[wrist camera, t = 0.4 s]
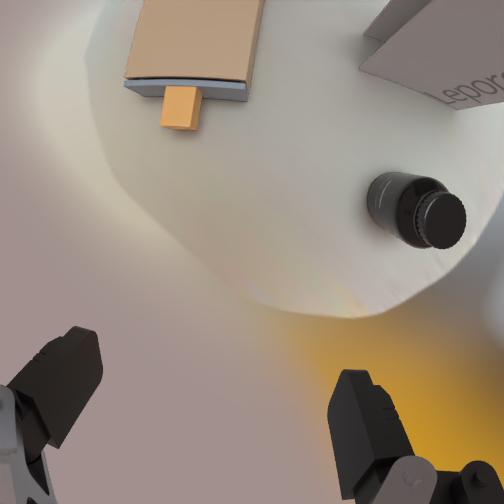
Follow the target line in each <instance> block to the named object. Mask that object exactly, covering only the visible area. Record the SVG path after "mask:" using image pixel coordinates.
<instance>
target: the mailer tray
mask: <svg viewBox="0 0 504 504" xmlns="http://www.w3.org/2000/svg"><path fill="white" fill-rule="evenodd" d="M124 87H126V88H128V89H130V90H132V91H134V92H136V93H138V94H140V95H142V96H164V101H163V108H162V114H161V121H160V126H163V127H166V128H169V129H184V130H197V127H198V120H199V114H200V107H201V101H202V98H216V99H228V100H238V101H247V102H248V93H247V88H246V84H244V83H240V81H232V80H220V79H203V78H140V80H127V81H124Z"/></svg>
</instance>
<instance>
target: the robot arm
mask: <svg viewBox="0 0 504 504" xmlns="http://www.w3.org/2000/svg"><path fill="white" fill-rule="evenodd" d="M102 375H103V365H102V360H101V354H100V349H99V343H98V337H97V334H96V332H95V331H92V330H88V329H85V328H81V327H78V326H74V327H72V328H71V329H70V330H69V331H68V332H67V333H66V334H65V335H64V336H63V337H61V336H60V337H58V338H56V339H54V340H52V341H50V342H48V343H47V344H46V345H45V346H44V347H43V348H42V349H41V350H40V352H39V353H37V354H36V355H35V356H34V357H33V360H30V361H29V363H27V365H26V366H25V367H24V368H23V369H22V370H21V371H20V372H19V373H18V374H17V375H16V376H15V377H14V379H12V381H11V382H10V383H9V384H8V385H7V386H4V385H0V504H58V503H57V501H56V499H55V495H54V491H53V488H52V484H51V479H50V475H49V471H48V466H47V462H46V457H45V452H44V450H43V448H44V447H45V445H46V444H49V445H51V446H53V447H55V448H57V449H59V448H60V446H61V444H62V443H63V441H64V439H65V438H66V436H67V435H68V433H69V431H70V430H71V428H72V426H73V425H74V423H75V421H76V420H77V418H78V417H79V415H80V413H81V412H82V410H83V409H84V407H85V406H86V404H87V402H88V401H89V399H90V398H91V396H92V395H93V393H94V391H95V390H96V388H97V387H98V385H99V384H100V382H101V379H102ZM327 417H328V424H329V429H330V434H331V440H332V445H333V450H334V456H335V461H336V467H337V472H338V478H339V484H340V490H341V496H342V500H348V499H355V503H356V504H504V489H503V487H502V485H501V482H500V480H499V478H498V475H497V473H496V471H495V470H494V468H493V467H492V466H491V465H489V464H488V463H486V462H484V461H472V462H470V463H468V464H467V465H466V466H465V467H464V468H463V469H462V470H461V471H460V472H452V471H437V470H435V468H434V466H433V465H432V464H431V463H430V462H429V461H427V460H426V459H424V458H422V457H419V456H415V454H414V452H413V449H412V447H411V444H410V442H409V439H408V437H407V434H406V432H405V430H404V427H403V425H402V423H401V420H400V419H399V415H398V413H397V411H396V410H395V406H394V404H393V402H392V399H391V397H390V395H389V394H388V393H387V392H386V391H385V390H384V389H383V388H382V387H381V386H380V385H373V383H372V380H371V378H370V376H369V373H368V371H366V370H349V369H348V370H347V369H344V370H343V371H342V372H341V374H340V376H339V379H338V382H337V384H336V387H335V390H334V392H333V395H332V397H331V400H330V402H329V406H328V414H327Z"/></svg>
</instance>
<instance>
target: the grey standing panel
mask: <svg viewBox="0 0 504 504" xmlns="http://www.w3.org/2000/svg"><path fill="white" fill-rule="evenodd" d="M364 35H366V36H369V37H372V38H375V39H378V40H381V41H384V42H386V43H385V44H383V45H382V46H381V47H380V48H379V49H378V50H377V51H376V52H375V53H374V54H373V55H372V56H371V57H370V58H369V59H368V60H366V61H365V62H364V63H363V64H362V65H361V66H360V67H359V70H361V71H364V72H367V73H370V74H373V75H376V76H379V77H381V78H384V79H387V80H390V81H392V82H395V83H398V84H400V85H403V86H405V87H408V88H410V89H413V90H415V91H417V92H420V93H422V94H424V95H426V96H429V97H431V98H433V99H435V100H437V101H440V102H442V103H444V104H446V105H448V106H450V107H452V108H454V109H456V110H461V109H466V108H471V107H476V106H482V105H488V104H493V103H500V102H504V0H390V2H389V3H388V4H387V5H386V6H385V8H384V9H383V10H382V11H381V12H380V14H379V15H378V16H377V17H376V18H375V20H374V21H373V22H372V23H371V25H370V26H369V27H368V28H367V29H366V31H365V32H364Z"/></svg>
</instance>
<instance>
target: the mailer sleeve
mask: <svg viewBox="0 0 504 504" xmlns="http://www.w3.org/2000/svg"><path fill="white" fill-rule="evenodd" d="M263 6H264V0H144V3H143V6H142V9H141V13H140V16H139V19H138V23H137V26H136V30H135V34H134V37H133V41H132V45H131V49H130V54H129V58H128V62H127V67H126V72H125V76H124V78H126V79H128V80H140V78H203V79H220V80H232V81H240V83H244V84H246V88H247V93H248V95H249V91H250V85H251V78H252V72H253V65H254V59H255V53H256V47H257V41H258V35H259V29H260V23H261V17H262V12H263Z"/></svg>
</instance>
